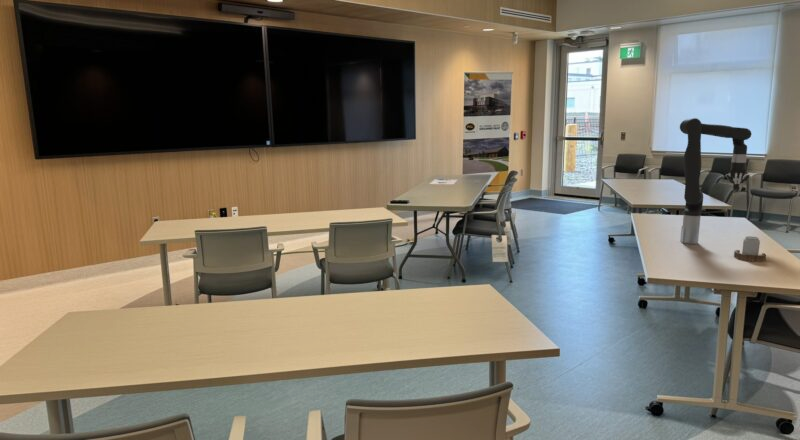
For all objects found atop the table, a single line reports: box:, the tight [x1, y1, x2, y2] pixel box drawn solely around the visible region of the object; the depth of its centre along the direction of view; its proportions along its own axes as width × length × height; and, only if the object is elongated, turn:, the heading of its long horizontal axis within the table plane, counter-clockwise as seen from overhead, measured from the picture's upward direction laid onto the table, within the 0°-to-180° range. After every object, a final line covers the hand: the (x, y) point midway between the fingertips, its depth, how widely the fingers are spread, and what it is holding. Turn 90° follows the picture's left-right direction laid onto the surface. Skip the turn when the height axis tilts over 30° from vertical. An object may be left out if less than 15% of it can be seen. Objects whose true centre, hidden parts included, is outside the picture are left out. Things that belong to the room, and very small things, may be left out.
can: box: [741, 235, 761, 256], centre depth 294 cm, size 8×8×12 cm
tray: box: [733, 249, 767, 262], centre depth 296 cm, size 15×13×3 cm
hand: (735, 190), depth 332 cm, fingers closed
